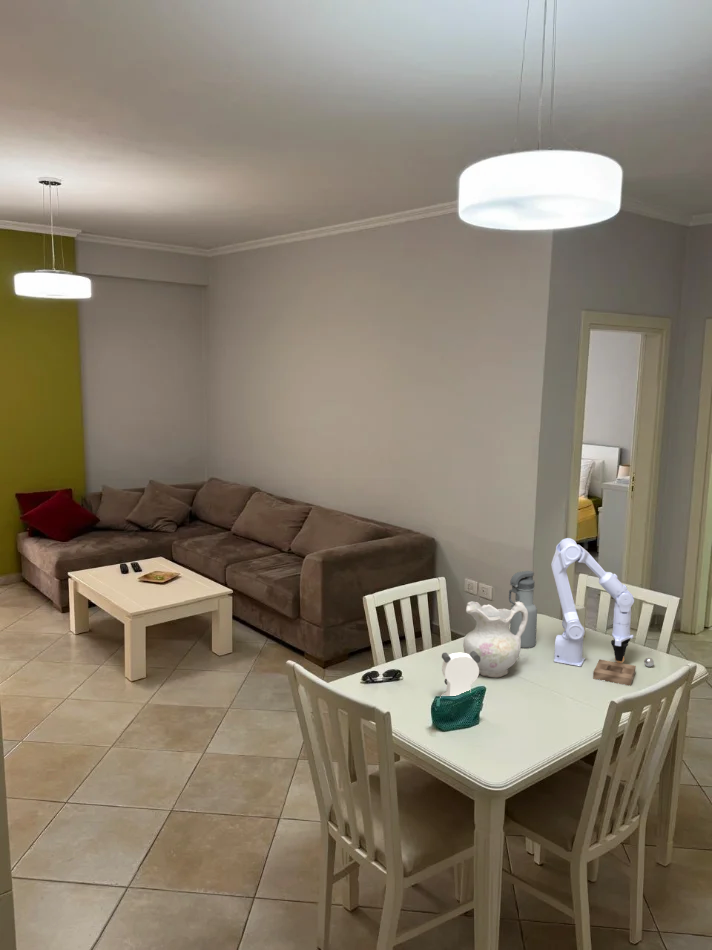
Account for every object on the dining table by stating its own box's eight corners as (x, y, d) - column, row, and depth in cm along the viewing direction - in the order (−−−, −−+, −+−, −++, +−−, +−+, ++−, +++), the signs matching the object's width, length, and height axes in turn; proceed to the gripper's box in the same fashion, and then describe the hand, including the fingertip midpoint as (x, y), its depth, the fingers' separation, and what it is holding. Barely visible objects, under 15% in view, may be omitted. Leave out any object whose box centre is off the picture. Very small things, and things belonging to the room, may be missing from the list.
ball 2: (643, 667, 255) (643, 658, 254) (644, 664, 258) (645, 655, 257) (653, 668, 253) (653, 660, 253) (654, 665, 256) (654, 657, 256)
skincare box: (585, 637, 283) (586, 607, 282) (577, 639, 281) (578, 609, 279) (572, 632, 288) (573, 603, 287) (564, 635, 286) (565, 605, 284)
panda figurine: (472, 690, 236) (473, 646, 234) (483, 706, 225) (485, 659, 223) (436, 692, 234) (437, 648, 232) (446, 708, 223) (447, 662, 221)
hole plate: (593, 678, 245) (593, 671, 245) (599, 666, 256) (599, 659, 255) (630, 685, 239) (631, 678, 239) (635, 672, 250) (635, 665, 250)
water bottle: (518, 650, 270) (520, 577, 266) (503, 641, 279) (505, 570, 275) (541, 646, 273) (544, 574, 270) (526, 638, 282) (528, 568, 279)
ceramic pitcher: (509, 660, 264) (508, 592, 262) (538, 677, 245) (537, 604, 243) (454, 667, 257) (453, 598, 255) (480, 685, 238) (479, 611, 237)
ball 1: (614, 663, 257) (614, 654, 257) (615, 660, 260) (615, 651, 260) (623, 665, 256) (624, 656, 255) (624, 661, 259) (625, 653, 258)
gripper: (631, 630, 248) (628, 668, 250) (636, 617, 260) (634, 654, 262) (609, 626, 251) (607, 664, 253) (615, 614, 264) (613, 650, 266)
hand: (619, 658), depth 258 cm, fingers closed on ball 1, 3 cm apart
